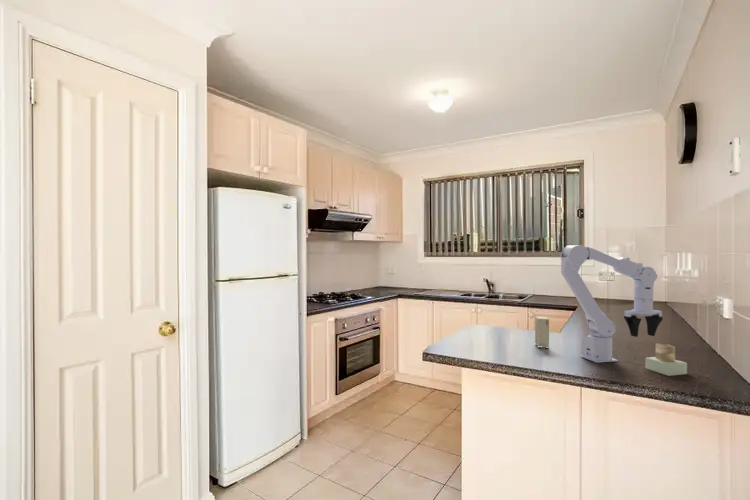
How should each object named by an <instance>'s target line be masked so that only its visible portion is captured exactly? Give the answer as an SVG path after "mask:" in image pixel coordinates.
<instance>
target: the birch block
mask: <svg viewBox="0 0 750 500" xmlns="http://www.w3.org/2000/svg"><path fill="white" fill-rule="evenodd" d="M654 357H655V358H656V359H658V360H660V361H665V362H675V360H676V347H675V346H673V345H671V344H669V343H664V344H663V343H655V356H654Z"/></svg>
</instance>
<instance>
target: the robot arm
mask: <svg viewBox="0 0 750 500" xmlns="http://www.w3.org/2000/svg"><path fill="white" fill-rule="evenodd" d="M559 257H560V262H561V263H560V267H561V269H560V271H561V275H562V277H563V278H564V280H565V281H566V283H567V284H568V286H569V288H570V290H571V291H572V293H573V295H574V296H575V299H576V300H577V302H578V303H579V305H580V307H581V308H582V310H583V311H584V313H585V314H584V315H585V319H586V323H587V327H588V329H589V335H587V336H584V338H583V339H582V347H581V348H582V350H581V352H582V353H581V354H580V358H583V359H586V360H588V361H592V362H594V363H610V362H611V363H612V362H613V363H614V362H618V361H619V360H618V359H616V358H614V357H613V335H615V333H616V330H617V326H616V324H615V323H614V321H612V320H611V319H609V317H608V316H607V315H606V313H605V312H603V311H602V310H601V308H600V306H599V305H598V303H597V301H596V300H595V299H594V297H593V295H592V293H591V292H590V291H589V289H588V287H587V285H586V284H585V282H584V280H583V278H582V277H581V275H580V274H579V271H580V268H581V266H582V265H583V264H584V263H585V262H586V260H587V261H588V260H589V261H591V260H593V261H596V262H598V263H602V264H604V265H607V266H610V267H612V268H613V271H614V272H616V273H618V274H621V275H624V276H626V277H629V278H630V279H632V280H633V281H634V286H633V287H634V290H633V292H634V294H633V297H634V298H633V308H632V309H630V310H624V315H623V319H624V320H625V322H626V324H627V325H628V329H629V332H630V336H631V337H635V338H638V336H639V328H640V324H641V321H642V318H639V317H644V319H645V322H646V331H647V335H648V336H652V337H655V335H656V332H657V330H658V327H659V325H660V324H661V322H662V321H663V320H664V319H663V317H662V316H663V311H662V310H658V309H654V284H655V281H656V280H657V279H658V274H657V271H656V270H655V269H654V268H652V267H651V266H644V265H643V264H644V263H641V262H636V261H632V260H631V258H630V257H628V256H625V257H619V258H616V257H614V256H611V255H609V254H607V253H605V252H602V251H599V250H597V249H595V248H592V247H588V246H585V245H582V244H577V245H575V244H574V245H572V244H571V245H570V244H569V245H565V247H564V248H563V249H562V251H561V253H560V255H559Z"/></svg>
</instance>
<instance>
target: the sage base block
mask: <svg viewBox="0 0 750 500" xmlns="http://www.w3.org/2000/svg"><path fill="white" fill-rule="evenodd" d="M644 362H645V369H647V370H649V371H653V372H655V373H659V374H662V375H664V376H668V377H670V376H678V375H679V376H682V375H687V374H688V363H687V362H685V361H682V360H677V359H675V362H665V361H660V360H658V359H656V358H655V356H650V357H648V356H647V357H645V361H644Z"/></svg>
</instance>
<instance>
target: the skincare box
mask: <svg viewBox="0 0 750 500" xmlns="http://www.w3.org/2000/svg"><path fill="white" fill-rule="evenodd" d="M534 321H535V323H534V324H535V325H534V326H535V327H534V329H535V330H534V333H535V335H534V337H535V338H534V340H535V341H534V344H535V343H536V344H537V345H538V346H542V347H548V348H549V349H550V319H549V318H548V317H546V316H535V319H534Z"/></svg>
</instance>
